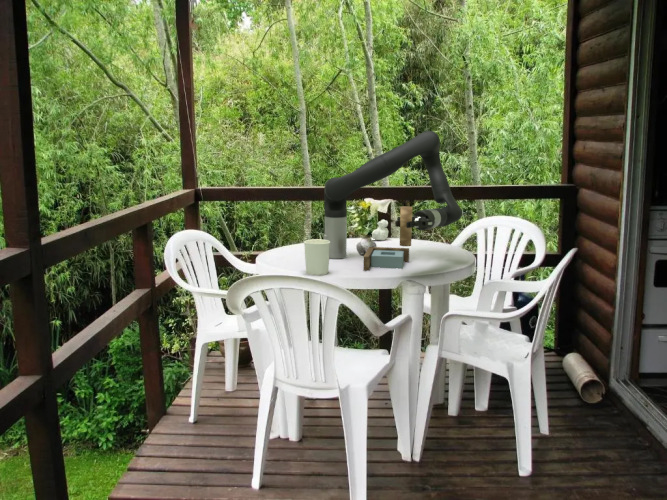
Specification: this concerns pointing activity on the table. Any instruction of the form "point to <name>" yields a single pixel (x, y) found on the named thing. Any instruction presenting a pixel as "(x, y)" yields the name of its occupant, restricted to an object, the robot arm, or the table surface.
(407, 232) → the oak dowel
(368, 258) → the backstop fence
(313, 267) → the candle holder
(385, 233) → the duck figurine
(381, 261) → the socket block
